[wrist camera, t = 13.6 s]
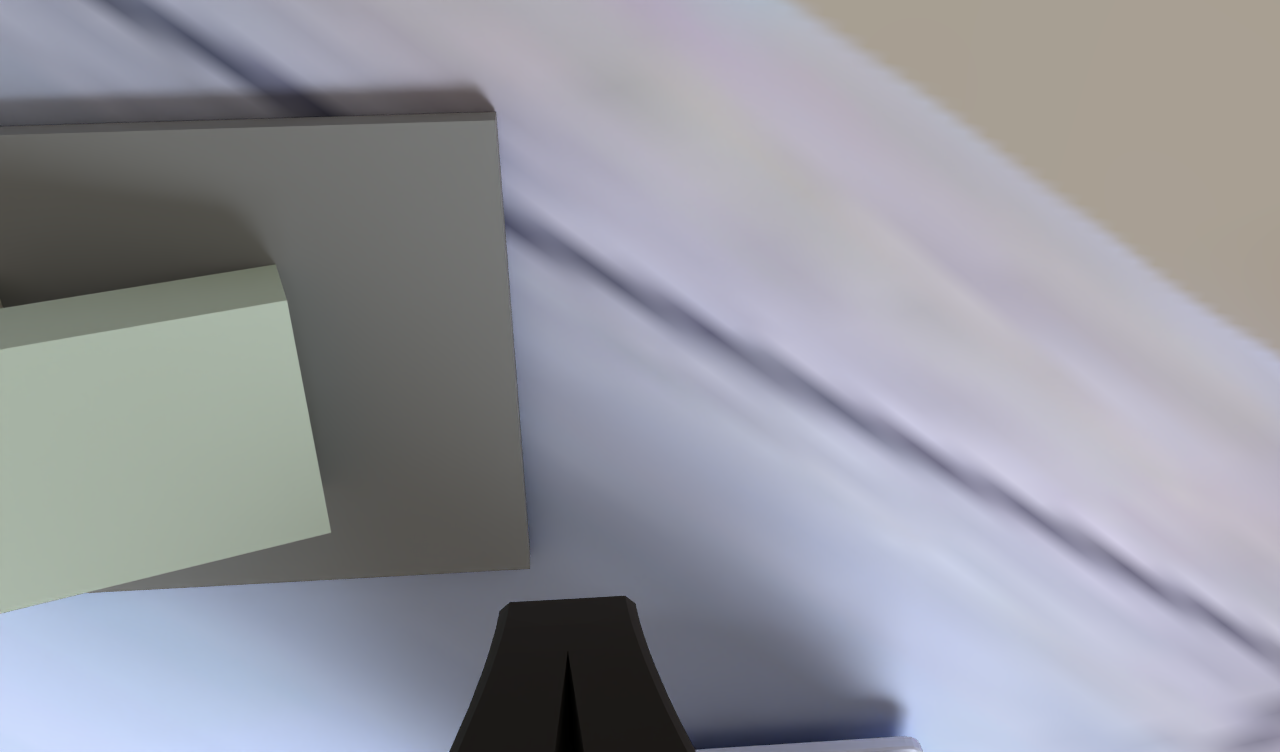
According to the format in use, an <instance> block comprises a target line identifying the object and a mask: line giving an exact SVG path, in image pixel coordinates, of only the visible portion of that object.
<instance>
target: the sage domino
mask: <svg viewBox="0 0 1280 752" xmlns="http://www.w3.org/2000/svg"><path fill="white" fill-rule="evenodd" d="M328 533H331V529H330V524H329V518H328V513H327V508H326V503H325V497H324V492H323V487H322V482H321V476H320V471H319V466H318V461H317V455H316V450H315V445H314V440H313V434H312V429H311V424H310V419H309V413H308V408H307V403H306V398H305V392H304V387H303V382H302V377H301V371H300V366H299V361H298V356H297V350H296V345H295V340H294V335H293V329H292V324H291V319H290V314H289V308H288V303H287V299H286V296H285V292H284V289H283V286H282V283H281V280H280V276H279V273H278V270H277V267H276V264H275V265H268V266H262V267H256V268H250V269H244V270H237V271H231V272H225V273H219V274H212V275H206V276H200V277H194V278H187V279H181V280H175V281H169V282H163V283H156V284H150V285H144V286H138V287H131V288H125V289H119V290H113V291H106V292H100V293H94V294H88V295H82V296H75V297H69V298H63V299H57V300H50V301H44V302H38V303H32V304H26V305H19V306H13V307H7V308H1V309H0V614H1V613H5V612H9V611H13V610H17V609H21V608H26V607H30V606H34V605H38V604H42V603H46V602H50V601H54V600H58V599H62V598H66V597H70V596H75V595H79V594H83V593H87V592H91V591H95V590H99V589H103V588H107V587H111V586H115V585H119V584H124V583H128V582H132V581H136V580H140V579H144V578H148V577H152V576H156V575H160V574H164V573H168V572H173V571H177V570H181V569H185V568H189V567H193V566H197V565H201V564H205V563H209V562H213V561H217V560H222V559H226V558H230V557H234V556H238V555H242V554H246V553H250V552H254V551H258V550H262V549H266V548H270V547H275V546H279V545H283V544H287V543H291V542H295V541H299V540H303V539H307V538H311V537H315V536H320V535H324V534H328Z"/></svg>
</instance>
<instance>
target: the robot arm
mask: <svg viewBox="0 0 1280 752" xmlns="http://www.w3.org/2000/svg"><path fill="white" fill-rule="evenodd" d="M449 752H923V751H922V748H921V745H920V743H919V742H918V741H917V740H916V739H914V738H912V737H907V736H898V737H882V738H867V739H852V740H836V741H821V742H806V743H790V744H775V745H760V746H744V747H729V748H713V749H698V750H695V749H694V747H693V745H692V743H691V741H690V739H689V737H688V735H687V733H686V732H685V730H684V728H683V726H682V724H681V722H680V720H679V718H678V716H677V714H676V712H675V710H674V708H673V705H672V703H671V701H670V699H669V697H668V695H667V693H666V690H665V688H664V686H663V683H662V681H661V679H660V676H659V674H658V672H657V669H656V667H655V664H654V662H653V659H652V657H651V654H650V651H649V649H648V646H647V643H646V640H645V637H644V634H643V631H642V628H641V625H640V621H639V618H638V613H637V609H636V604H635V603H634V602H632V601H631V600H630V599H629V598H627V597H626V596H614V597H597V598H579V599H561V600H543V601H525V602H510V603H509V604H507V605H506V606H505V607H504V608H503V609H502V610H501V611H500V612H499V617H498V622H497V626H496V630H495V634H494V637H493V641H492V644H491V648H490V651H489V654H488V657H487V660H486V663H485V666H484V669H483V672H482V675H481V677H480V680H479V682H478V685H477V688H476V690H475V693H474V695H473V698H472V701H471V703H470V706H469V708H468V711H467V713H466V715H465V717H464V720H463V722H462V724H461V726H460V729H459V731H458V733H457V736H456V738H455V740H454V742H453V745H452V747H451V749H450V751H449Z"/></svg>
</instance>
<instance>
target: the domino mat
mask: <svg viewBox="0 0 1280 752" xmlns="http://www.w3.org/2000/svg"><path fill="white" fill-rule="evenodd" d="M275 264H276V267H277V270H278V273H279V276H280V280H281V283H282V286H283V289H284V292H285V296H286V299H287V303H288V308H289V314H290V319H291V324H292V329H293V335H294V340H295V345H296V350H297V356H298V361H299V366H300V371H301V377H302V382H303V387H304V392H305V398H306V403H307V408H308V413H309V419H310V424H311V429H312V434H313V440H314V445H315V450H316V455H317V461H318V466H319V471H320V476H321V482H322V487H323V492H324V497H325V503H326V508H327V513H328V518H329V524H330V529H331V533H328V534H324V535H320V536H315V537H311V538H307V539H303V540H299V541H295V542H291V543H287V544H283V545H279V546H275V547H270V548H266V549H262V550H258V551H254V552H250V553H246V554H242V555H238V556H234V557H230V558H226V559H222V560H217V561H213V562H209V563H205V564H201V565H197V566H193V567H189V568H185V569H181V570H177V571H173V572H168V573H164V574H160V575H156V576H152V577H148V578H144V579H140V580H136V581H132V582H128V583H124V584H119V585H115V586H111V587H107V588H103V589H99V590H95V591H91V592H87V593H96V592H114V591H132V590H150V589H169V588H187V587H205V586H224V585H242V584H260V583H279V582H297V581H315V580H334V579H352V578H370V577H389V576H407V575H425V574H444V573H462V572H480V571H499V570H517V569H530V545H529V532H528V519H527V506H526V493H525V480H524V467H523V454H522V441H521V428H520V415H519V402H518V390H517V377H516V364H515V351H514V338H513V325H512V312H511V299H510V286H509V273H508V260H507V247H506V234H505V221H504V208H503V195H502V182H501V169H500V156H499V143H498V130H497V117H496V112H471V113H437V114H403V115H370V116H336V117H302V118H268V119H234V120H201V121H167V122H133V123H99V124H65V125H31V126H0V300H1V303H2V306H3V308H7V307H13V306H19V305H26V304H32V303H38V302H44V301H50V300H57V299H63V298H69V297H75V296H82V295H88V294H94V293H100V292H106V291H113V290H119V289H125V288H131V287H138V286H144V285H150V284H156V283H163V282H169V281H175V280H181V279H187V278H194V277H200V276H206V275H212V274H219V273H225V272H231V271H237V270H244V269H250V268H256V267H262V266H268V265H275Z"/></svg>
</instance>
